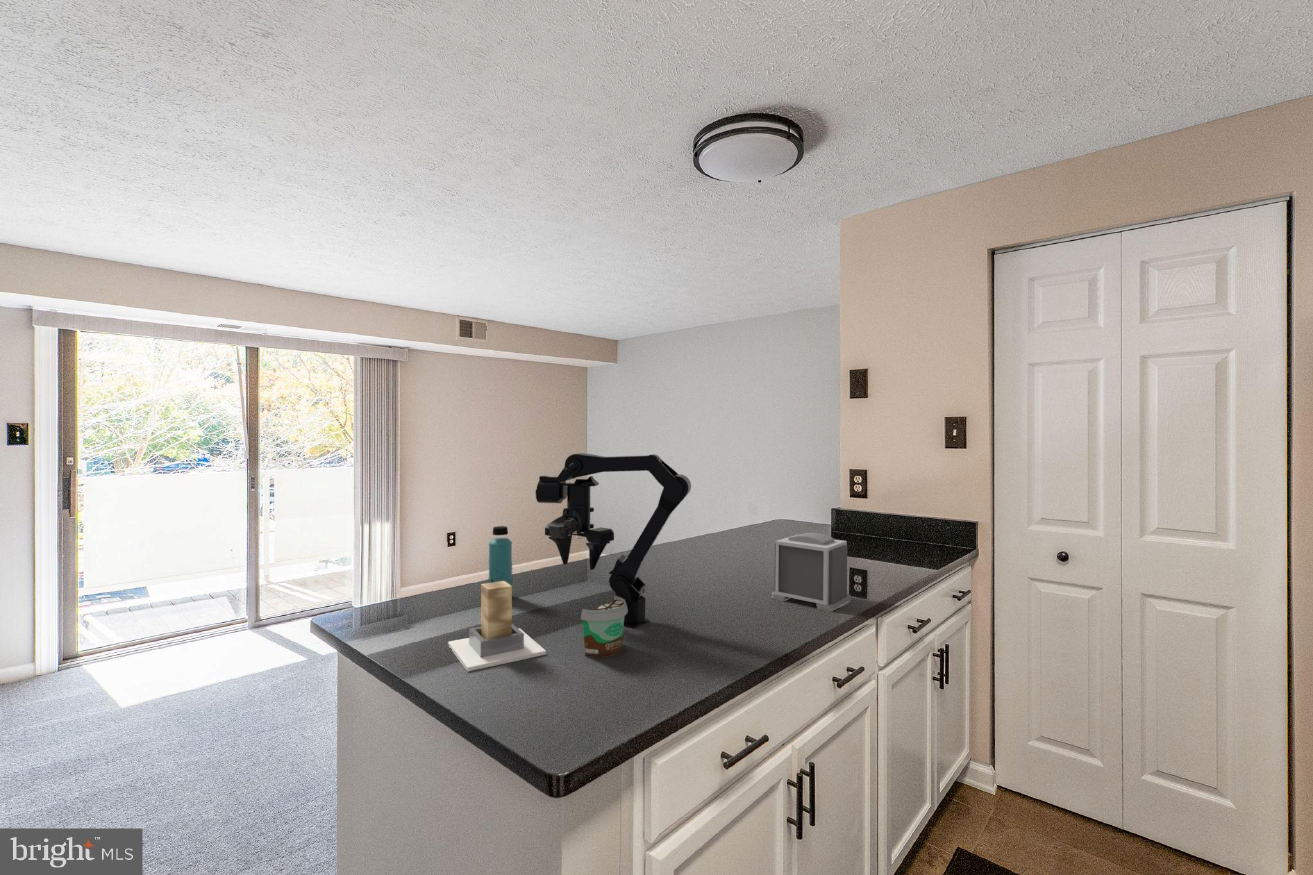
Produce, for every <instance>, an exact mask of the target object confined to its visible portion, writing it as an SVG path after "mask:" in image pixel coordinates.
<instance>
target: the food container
mask: <svg viewBox="0 0 1313 875" xmlns="http://www.w3.org/2000/svg"><path fill="white" fill-rule="evenodd" d="M627 613H628V609H627V605H626V603H625V600H624V599H623V598H620V597H617V596H616V595H614V600H611V601H609V602H607V603H600V604H599V605H597V606H595V607H593V608H592V609H585V608H582V611H581V614H580V620H581V621H582V626H583V627H582V630H583V642H584V643H583V644H584V656H585V657H588V658H607V657H612V656H615V655H617V654H619V653H620V652H621V651H622V648H623V640H624V638H623V636H624V628H625V626H624V616H625V615H626V614H627Z"/></svg>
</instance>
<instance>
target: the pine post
mask: <svg viewBox="0 0 1313 875" xmlns="http://www.w3.org/2000/svg"><path fill="white" fill-rule="evenodd" d="M480 586H481V587H480V596H481V597H480V627H481V636H482V638H483V639H489V638H494V637H499V636H504V635H510V634H512V624H513V622H512V619H513V618H512V614H513V612H512V611H513V610H512V609H513V607H512V603H513V602H512V601H513V598H512V597H513V596H512V595H513V594H512V592H513V590H512V588H513V585H512V586H511V585H509V584H508V583H507V582H505V581H500V582H492V583H489V582H486V583H481V584H480Z"/></svg>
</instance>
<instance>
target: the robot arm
mask: <svg viewBox="0 0 1313 875" xmlns="http://www.w3.org/2000/svg"><path fill="white" fill-rule="evenodd" d="M642 471H645V472H646V471H647V472H649V473H650V475H652V477H653V478H654V479H655V480H656V481H657V482H658V484H660V486H661V487H663V489H662V491H661V493H660V498H659V500H658V503H657V507H656V508H655V510H654V512H653V513H652V515H651V516H650V519H649V520H648V522H647V524H646V525H645V527H644V528H643V530H642V531H641V533H640V535H639V537H638V538H637V540H636V542H635V543H634V546H633V547H632V549H631V551H630V552H629V554H628V555H627V556H625V554H622V555H620V556H619V557H618V558H617V559H616V562H615V563H614V567H613V568H612V569H611V570H610V571H609V572H608V574H609V575H610V576H609V578H608V583H609V587H610V588H611V590H612V591H613V592H614V593H615V596H617V597H620V598H623V599H624V600H625V603H626V605H627V609H628V613H627V614H626V615H625V616H624V627H627V628H632V629H635V628H637V627H639V626H641V625H643V624H646V623H648V622H650V619H649V618H647V617H646V597H644V596H643V594H644V593H645V591H646V588H647V585H646V583H645V582H644V581H643V580H642V579H641V578H640V577H639V575H640V573H641V570H642V568H643V563H644V561H645V558H646V557H647V555H648V553H649V552H650V550H651V548H652V546H653V545H654V543H655V541H656V540H657V538H658V536H659V535H660V533H661V531H662V530H663V528H664V526H665V524H667V521H668V519H669V518H670V517H671V515H672V513H673V512H674V511H675V510H676V509H677V507H678V506H679V505H680V504H681V503H682V502H683V501H684V499H685V498H686V497H687V496H688V494H690V492H691V490H692V484H691V480H690V479H689V477H687V476H686V475H684V474H680V473H678V472H677V471H676V470H675V469H673V468H672V467H671V466H670V465H669V464H667V463H666V462H665V461H664V460H663V459H662V458H661V457H660V456H659V455H657V454H655V453H654V454H648V455H647V454H646V455H623V456H621V455H620V456H619V455H618V456H617V455H615V456H604V455H598V454H592V453H585V452H580V453H573V454H570V455H568V457H567V458H565V461H564V467H563V468H562V470H561V472H559V474H558V475H557V476H550V475H539V478H538V479H539V480H538V482H537V485H536V488H535V499H536V501H537V503H538V504H562V503H563V501H564V500H566V502H567V503H566V507H564V508H563V509H562V514H561V515H560V516H559V517H557V518H555V519H554V520H552V521H550V522H549V523H547V524H546V526H545V527H544V536H547V537H548V539H549V540H551V541H553V543H555V545H556V548H557V550H558V553H559V555H560V559H561V562H562V564H563V565H567V564H568V562H569V559H570V552H571V546H572V540H573V536H577V537H582V538H583V537H584V538H586V541H587V542H586V543H585V545H586V547H587V548H588V554H589V558H588V560H589V570H590V571H592V570H595V569H596V567H597V563H598V562H599V559H600V558H601V556H602V553H603V551H604V550H605V548H606V546H607V545H608V544H611V542H613V541H615V531H614V530H613V529H612V528H608V527H607V528H606V527H596V528H595V526H594V523H591V513H594V511H595V510H594V508H595V507H591V487H597V486H599V485H600V484H599V482H598V481H597V480H596V479H595V478H594V476H593V475H594V474H598V473H599V474H600V473H604V472H605V473H606V472H607V473H608V472H609V473H610V472H642ZM590 475H591V476H590ZM585 476H588V477H587V478H581V477H585ZM574 479H575V480H574ZM570 480H574V482H567V481H570Z"/></svg>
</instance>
